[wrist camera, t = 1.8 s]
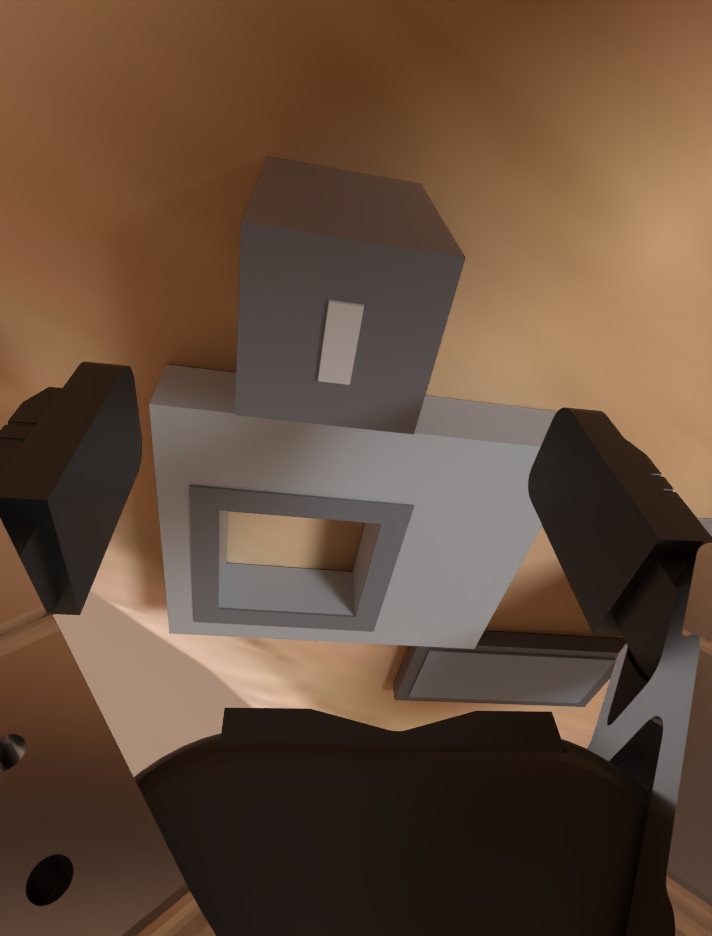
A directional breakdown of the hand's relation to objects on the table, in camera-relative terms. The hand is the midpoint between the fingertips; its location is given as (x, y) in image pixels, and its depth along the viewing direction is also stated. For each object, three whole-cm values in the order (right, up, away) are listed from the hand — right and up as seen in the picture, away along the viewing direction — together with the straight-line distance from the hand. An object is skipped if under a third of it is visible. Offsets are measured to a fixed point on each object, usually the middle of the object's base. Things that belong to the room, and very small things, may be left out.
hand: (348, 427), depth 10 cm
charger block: (0, +6, +5) cm, 8 cm away
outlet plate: (0, -3, +12) cm, 13 cm away
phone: (+9, -12, +21) cm, 25 cm away
